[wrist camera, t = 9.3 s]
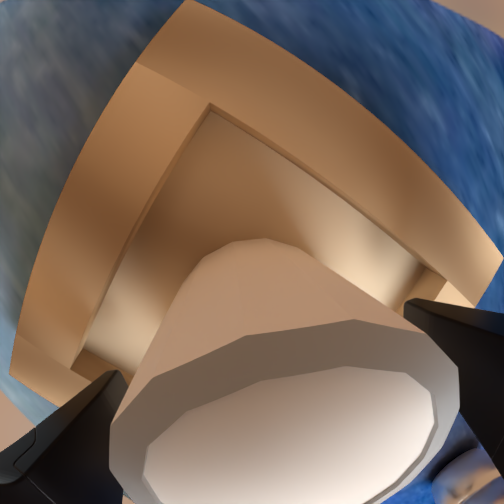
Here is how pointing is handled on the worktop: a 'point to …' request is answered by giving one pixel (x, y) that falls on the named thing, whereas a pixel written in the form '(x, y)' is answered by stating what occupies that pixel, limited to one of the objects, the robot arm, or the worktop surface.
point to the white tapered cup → (280, 390)
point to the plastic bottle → (469, 481)
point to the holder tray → (229, 200)
